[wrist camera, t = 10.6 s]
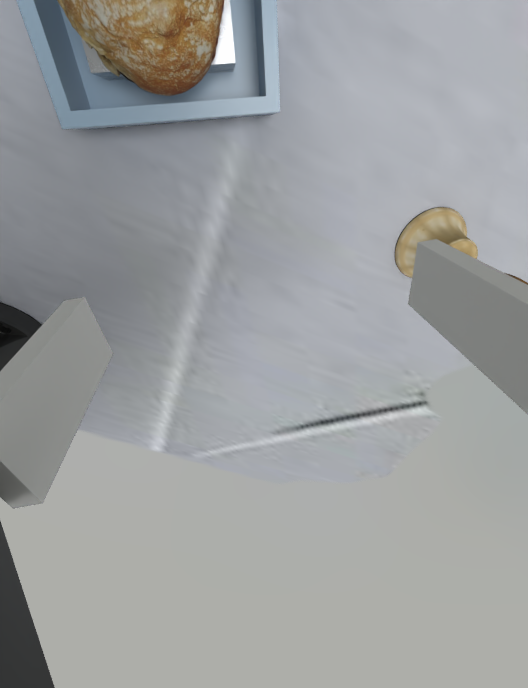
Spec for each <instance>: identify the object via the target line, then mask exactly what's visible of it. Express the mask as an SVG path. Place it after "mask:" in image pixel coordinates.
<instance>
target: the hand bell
mask: <svg viewBox="0 0 528 688" xmlns="http://www.w3.org/2000/svg"><path fill="white" fill-rule="evenodd" d="M434 239H437V240H439V241H441V242H443V243H445V244H447V245H449V246H451V247H453V248H455V249H457V250H459V251H461V252H463V253H465V254H467V255H469V256H471V257H473V258H475V259H477V255H478V250H477V246H476V244H475V243H474V242H473V241H471V240H470V239H469V238H467V229H466V224H465V221H464V219H463V217H462V216H461V215H460V214H459V213H458V212H457V211H455V210H453V209H450V208H444V207H438V208H434V209H431V210H428V211H425V212H423V213H422V214H420V215H418V216H417V217H416V218H414V219H413V220H412V221H411V222H410V223H409V224H408V225H407V226H406V228H405V229H404V230H403V232H402V233H401V235H400V237H399V239H398V242H397V245H396V249H395V260H396V264H397V266H398V268H399V270H400V271H401V272H402V273H403V274H404V275H406V276H408V277H411V278H412V276H413V269H414V263H415V256H416V250H417V243H418V242H422V241H428V240H434ZM505 274H507V273H505ZM507 275H509V276H511V277H513V278H515V279H517V280H519V281H521V282H523V283H525V284H527V285H528V283H527V282H525V281H523V280H522V279H520V278H518V277H515V276H513V275H510V274H507Z"/></svg>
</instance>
